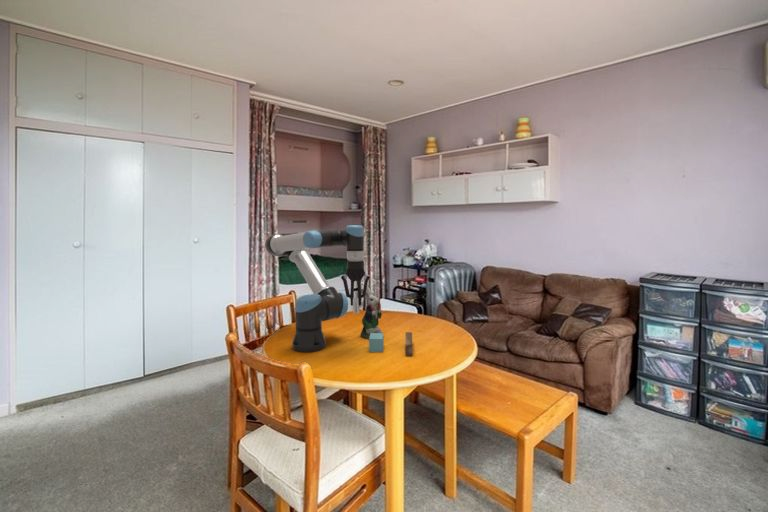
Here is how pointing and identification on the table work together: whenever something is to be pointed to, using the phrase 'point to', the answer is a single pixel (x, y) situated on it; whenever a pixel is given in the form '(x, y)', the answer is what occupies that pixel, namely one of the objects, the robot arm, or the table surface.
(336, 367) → the table surface
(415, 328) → the table surface
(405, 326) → the table surface
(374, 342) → the block
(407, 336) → the board
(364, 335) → the figurine
